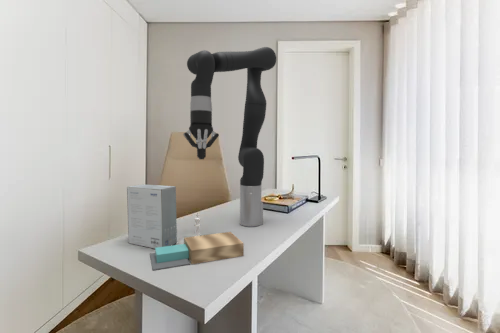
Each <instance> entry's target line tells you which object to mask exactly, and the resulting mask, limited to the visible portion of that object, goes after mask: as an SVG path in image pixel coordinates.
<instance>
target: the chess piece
mask: <svg viewBox="0 0 500 333" xmlns="http://www.w3.org/2000/svg"><path fill="white" fill-rule="evenodd" d="M194 216H195V217H194V222H195V224H194V227H195V232H194V233H195V235H194V236H201V235H200V234H201V233H200V226H201V224H200V221H201V214H199V212H196V214H194Z"/></svg>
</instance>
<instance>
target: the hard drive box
mask: <svg viewBox="0 0 500 333" xmlns="http://www.w3.org/2000/svg"><path fill="white" fill-rule="evenodd" d="M126 196H127V197H126V199H127V206H126V207H127V226H128V227H127V230H128V231H127V232H128V233H127V235H128V244H131V245H136V246H140V247H141V246H142V247H144V248H145V247H147V248H151V249H154V250H155V248H157V247H165V246H172V245H176V244H177V242H178V240H177V239H178V238H177V237H178V236H177V235H178V232H177V231H178V229H177V226H178V225H177V224H178V223H177V186H173V185H159V184H158V185H157V184H145V183H144V184H143V183H142V184H137V185H130V186H127V187H126Z"/></svg>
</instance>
